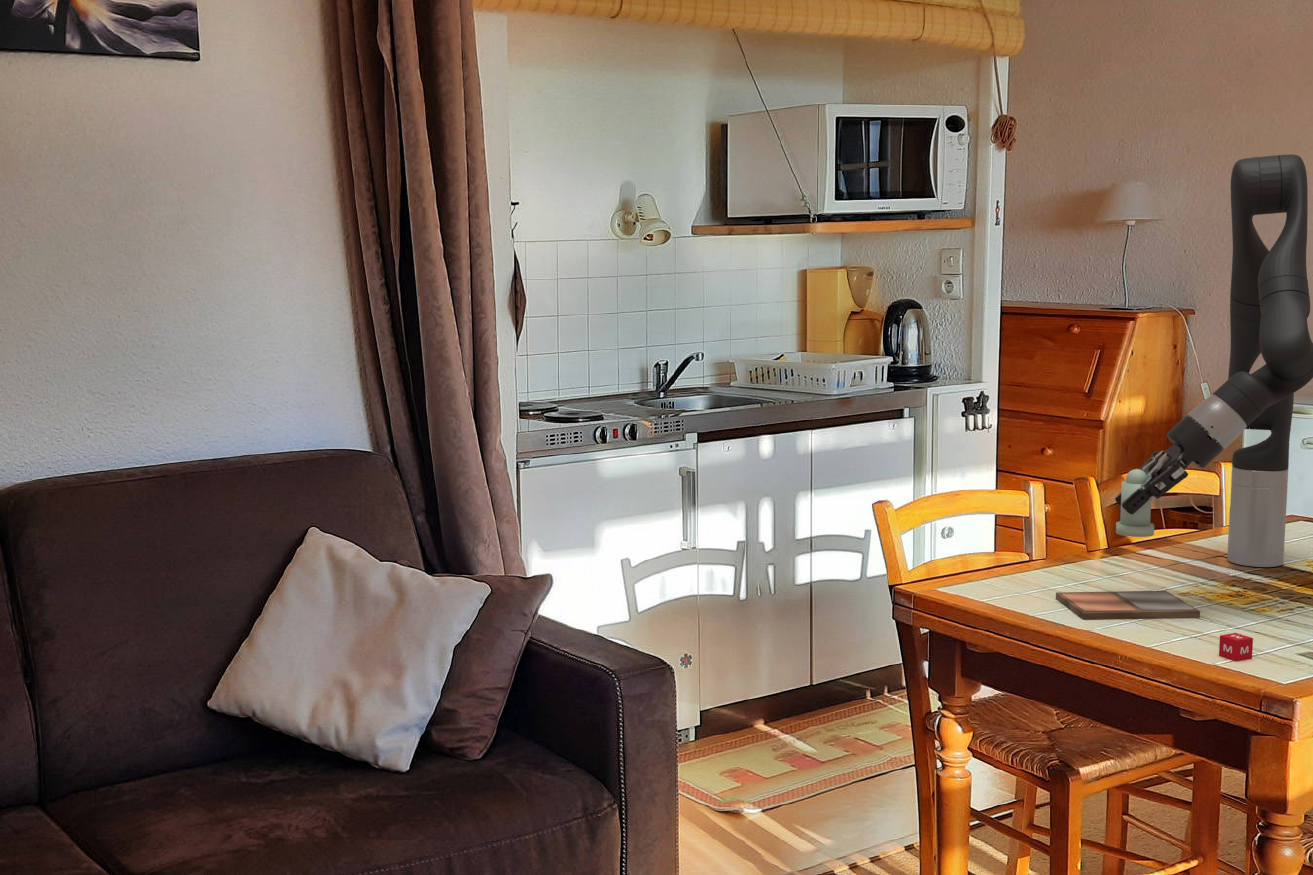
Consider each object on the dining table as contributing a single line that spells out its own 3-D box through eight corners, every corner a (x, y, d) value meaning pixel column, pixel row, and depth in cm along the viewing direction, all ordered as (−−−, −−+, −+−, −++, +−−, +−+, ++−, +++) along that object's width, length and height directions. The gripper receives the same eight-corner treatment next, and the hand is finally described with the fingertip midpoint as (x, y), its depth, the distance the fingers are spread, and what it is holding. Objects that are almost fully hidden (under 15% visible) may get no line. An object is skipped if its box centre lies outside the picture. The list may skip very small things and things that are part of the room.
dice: (1218, 656, 188) (1219, 635, 187) (1234, 653, 189) (1235, 632, 188) (1236, 662, 185) (1237, 640, 184) (1252, 659, 186) (1253, 637, 186)
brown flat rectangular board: (1055, 598, 220) (1056, 591, 219) (1165, 596, 220) (1165, 590, 220) (1083, 619, 207) (1083, 612, 207) (1200, 617, 207) (1200, 610, 207)
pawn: (1110, 530, 214) (1112, 466, 213) (1145, 529, 214) (1147, 466, 213) (1124, 537, 208) (1126, 472, 207) (1159, 536, 209) (1162, 471, 207)
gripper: (1177, 408, 215) (1096, 483, 218) (1202, 418, 201) (1114, 498, 204) (1211, 442, 215) (1129, 516, 218) (1238, 454, 201) (1150, 533, 204)
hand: (1122, 507), depth 211 cm, fingers closed on pawn, 4 cm apart
